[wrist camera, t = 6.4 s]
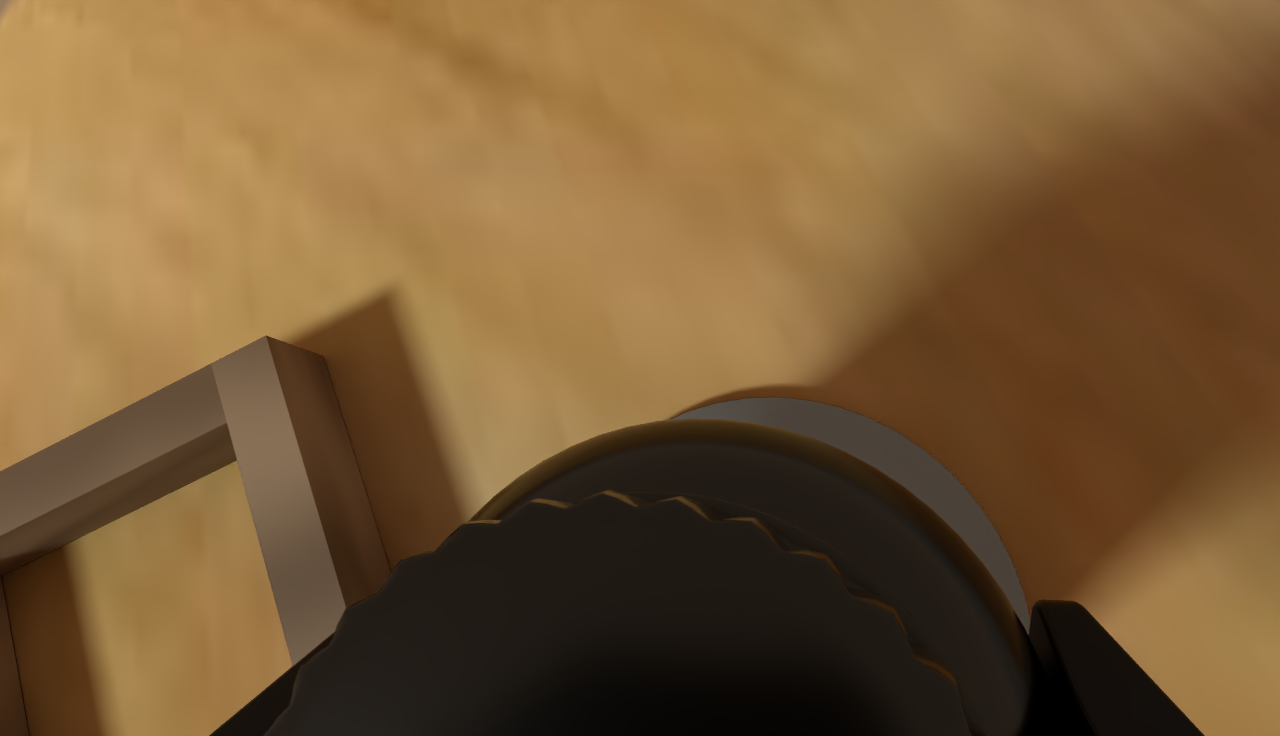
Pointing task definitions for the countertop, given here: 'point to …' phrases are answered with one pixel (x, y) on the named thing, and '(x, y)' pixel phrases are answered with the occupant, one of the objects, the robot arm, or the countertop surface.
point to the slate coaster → (886, 471)
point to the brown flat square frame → (192, 448)
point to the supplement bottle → (685, 607)
